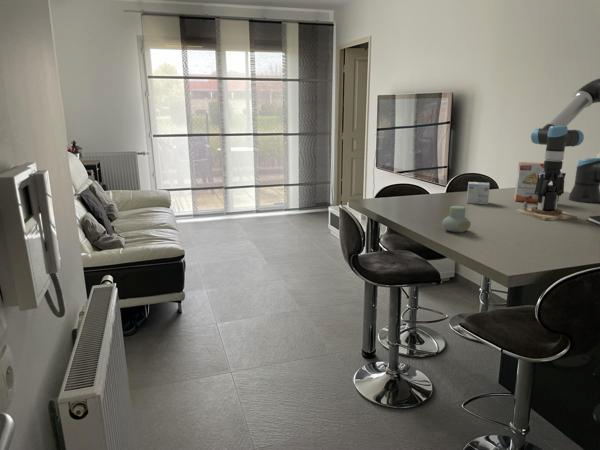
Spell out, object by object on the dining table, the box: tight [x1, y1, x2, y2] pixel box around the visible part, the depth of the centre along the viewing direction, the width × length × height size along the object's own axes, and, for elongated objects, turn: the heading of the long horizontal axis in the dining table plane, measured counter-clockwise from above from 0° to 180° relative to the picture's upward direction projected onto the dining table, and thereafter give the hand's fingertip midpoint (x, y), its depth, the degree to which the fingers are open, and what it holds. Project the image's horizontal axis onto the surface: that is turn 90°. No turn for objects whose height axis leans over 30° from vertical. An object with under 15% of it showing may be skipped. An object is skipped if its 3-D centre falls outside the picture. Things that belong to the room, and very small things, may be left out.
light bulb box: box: [466, 181, 490, 205], centre depth 242 cm, size 11×7×11 cm, turn 71°
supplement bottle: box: [541, 184, 557, 212], centre depth 214 cm, size 7×7×12 cm
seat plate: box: [516, 202, 578, 221], centre depth 215 cm, size 18×18×5 cm
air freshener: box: [441, 205, 471, 234], centre depth 186 cm, size 11×8×10 cm
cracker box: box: [513, 161, 544, 203], centre depth 245 cm, size 14×6×21 cm, turn 73°
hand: (546, 209), depth 215 cm, fingers closed on supplement bottle, 7 cm apart
